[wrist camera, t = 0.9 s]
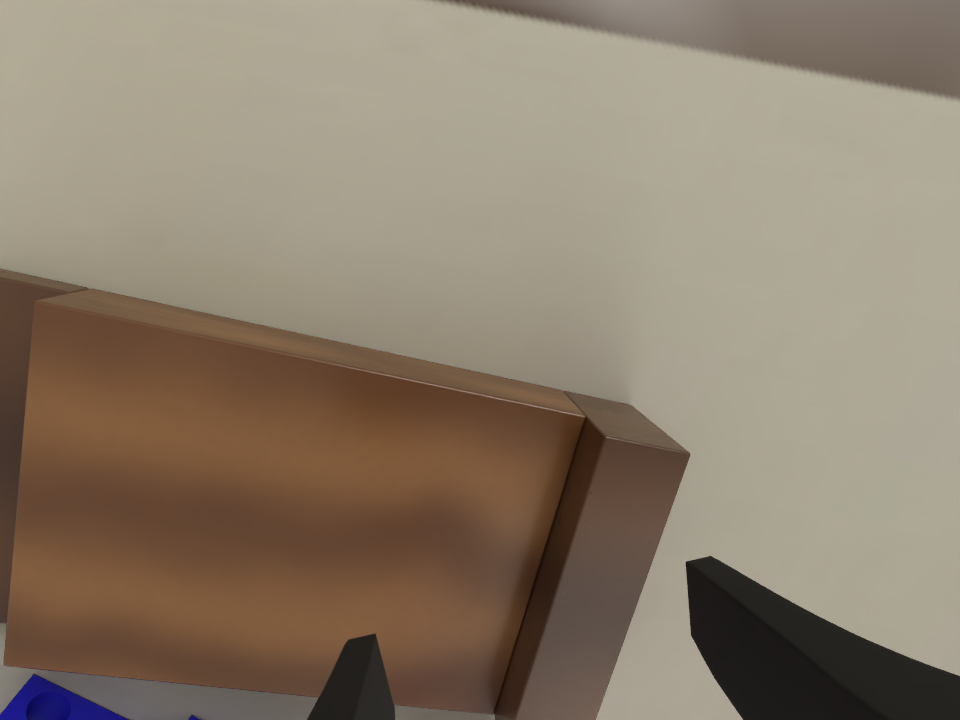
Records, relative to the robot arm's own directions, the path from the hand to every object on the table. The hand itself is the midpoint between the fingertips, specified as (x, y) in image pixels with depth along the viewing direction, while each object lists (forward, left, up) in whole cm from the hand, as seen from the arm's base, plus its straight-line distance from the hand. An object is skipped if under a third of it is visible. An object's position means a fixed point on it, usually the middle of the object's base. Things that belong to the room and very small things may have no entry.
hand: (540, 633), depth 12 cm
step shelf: (-3, +6, -10) cm, 12 cm away
